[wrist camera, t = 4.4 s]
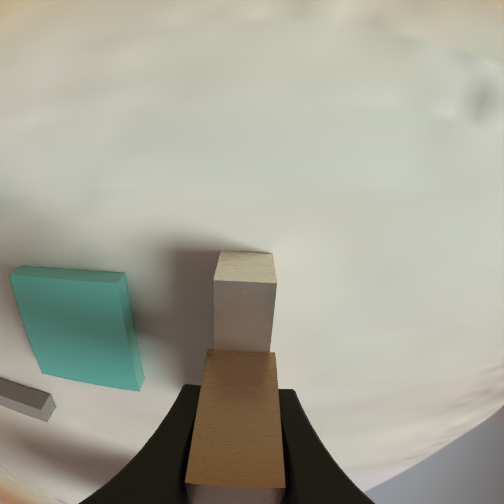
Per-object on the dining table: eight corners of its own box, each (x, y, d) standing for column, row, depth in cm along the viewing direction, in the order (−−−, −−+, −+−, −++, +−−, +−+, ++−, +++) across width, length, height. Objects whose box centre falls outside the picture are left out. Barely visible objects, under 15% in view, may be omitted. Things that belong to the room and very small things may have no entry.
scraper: (262, 398, 16) (266, 540, 8) (216, 395, 16) (199, 537, 8) (277, 254, 13) (305, 421, 5) (215, 250, 13) (170, 415, 5)
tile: (146, 371, 16) (139, 391, 14) (53, 357, 15) (42, 373, 14) (129, 267, 13) (117, 283, 12) (25, 262, 13) (8, 274, 12)
